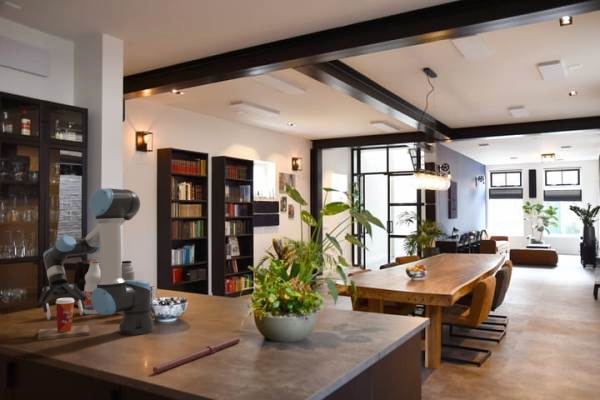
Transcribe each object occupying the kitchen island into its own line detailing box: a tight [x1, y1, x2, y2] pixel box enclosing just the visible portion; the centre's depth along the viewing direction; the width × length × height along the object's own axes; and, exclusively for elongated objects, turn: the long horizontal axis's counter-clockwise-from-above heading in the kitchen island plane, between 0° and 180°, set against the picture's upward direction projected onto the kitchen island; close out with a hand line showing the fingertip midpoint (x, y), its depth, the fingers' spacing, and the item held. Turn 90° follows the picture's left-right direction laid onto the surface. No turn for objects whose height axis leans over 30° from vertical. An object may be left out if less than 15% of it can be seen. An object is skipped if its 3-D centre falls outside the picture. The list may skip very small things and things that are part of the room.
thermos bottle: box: [117, 260, 135, 316], centre depth 257 cm, size 8×8×28 cm
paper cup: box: [55, 297, 76, 332], centre depth 213 cm, size 8×8×14 cm
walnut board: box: [37, 324, 90, 341], centre depth 213 cm, size 20×14×2 cm
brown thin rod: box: [152, 337, 241, 375], centre depth 180 cm, size 45×3×3 cm, turn 149°
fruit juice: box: [83, 259, 101, 315], centre depth 258 cm, size 9×9×28 cm
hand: (66, 315), depth 211 cm, fingers open, 13 cm apart
